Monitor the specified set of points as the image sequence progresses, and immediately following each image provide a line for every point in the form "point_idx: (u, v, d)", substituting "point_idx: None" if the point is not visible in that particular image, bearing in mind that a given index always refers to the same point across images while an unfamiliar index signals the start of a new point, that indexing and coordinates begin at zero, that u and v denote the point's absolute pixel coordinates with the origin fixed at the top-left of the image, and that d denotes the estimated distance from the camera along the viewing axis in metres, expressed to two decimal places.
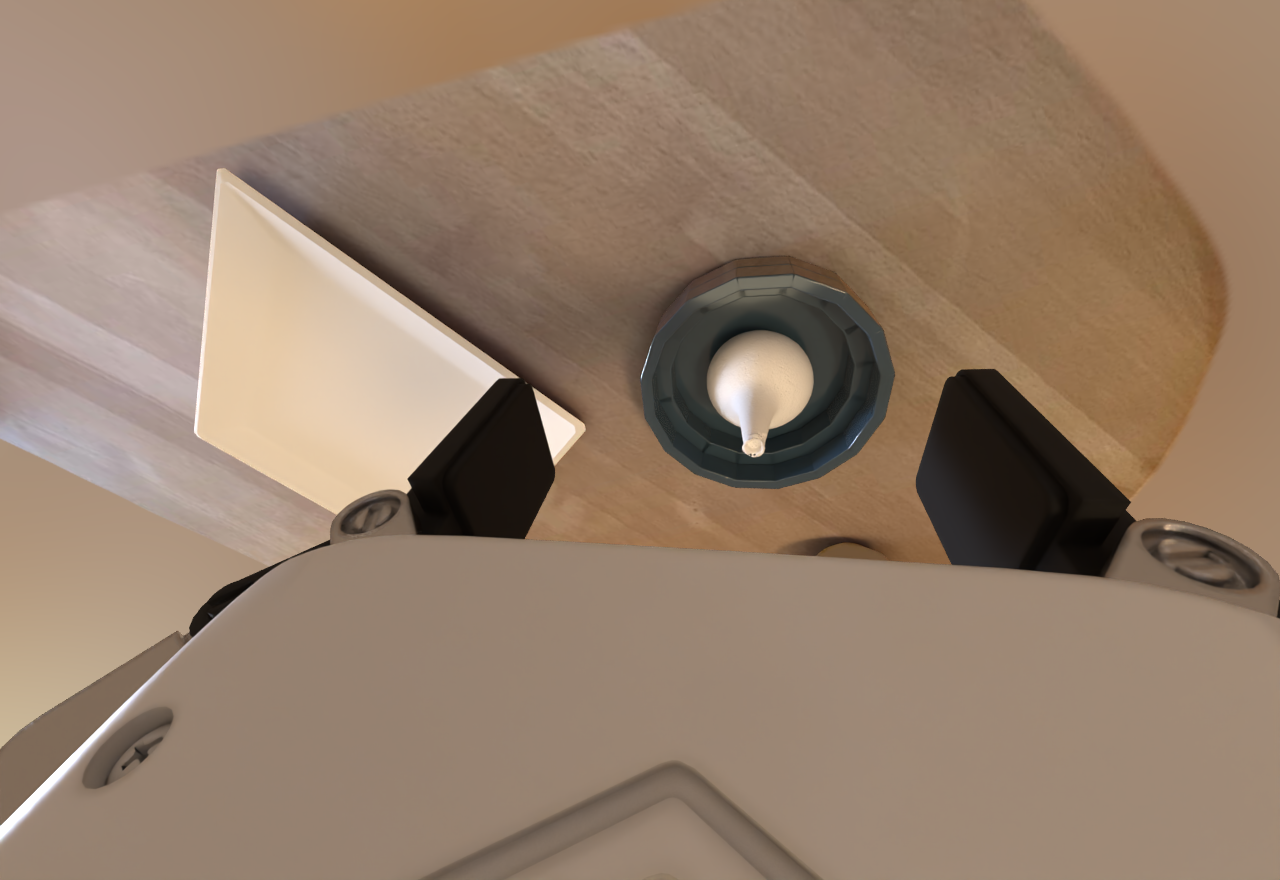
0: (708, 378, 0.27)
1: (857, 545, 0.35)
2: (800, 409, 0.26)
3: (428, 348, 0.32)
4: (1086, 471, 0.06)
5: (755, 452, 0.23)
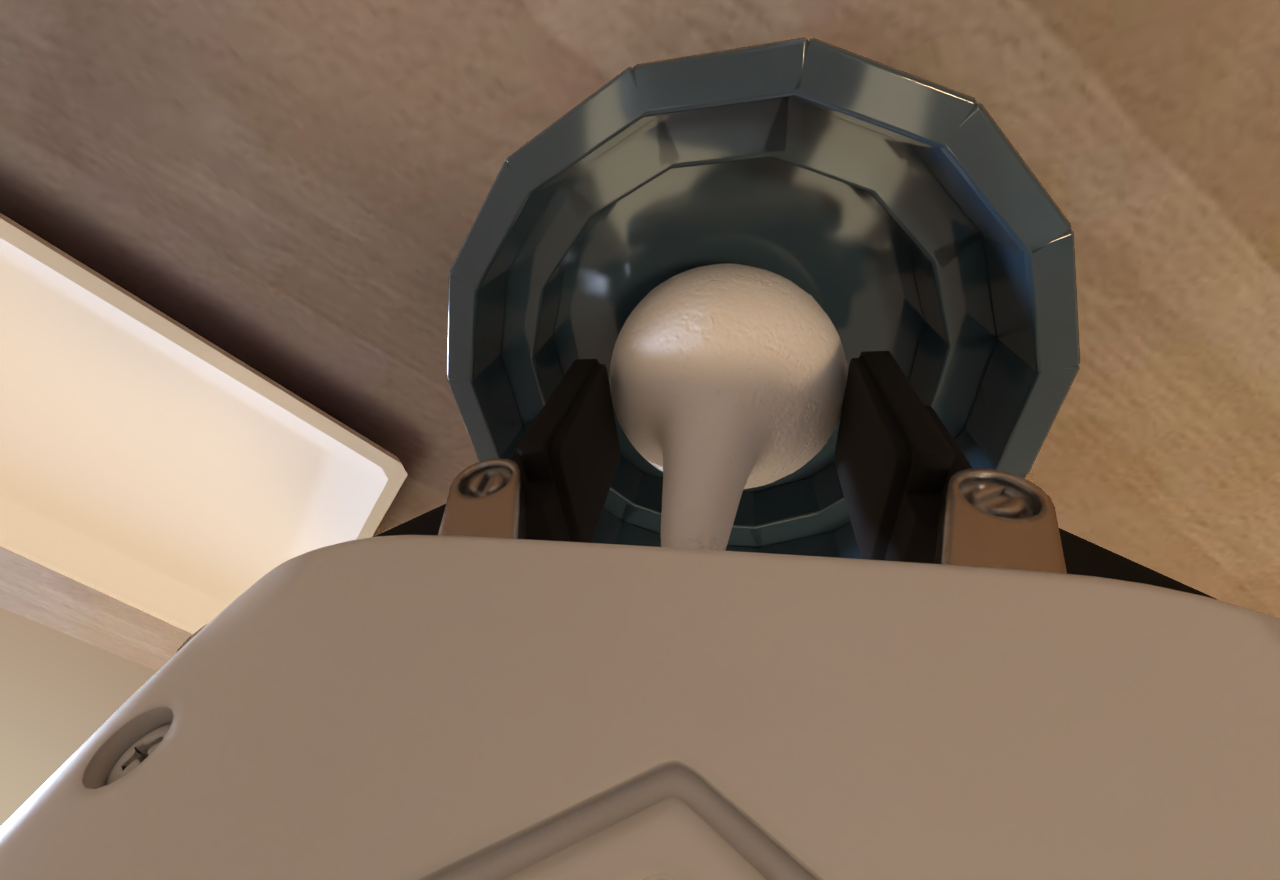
0: (610, 377, 0.12)
1: None
2: (816, 450, 0.11)
3: (103, 319, 0.17)
4: (930, 431, 0.07)
5: None
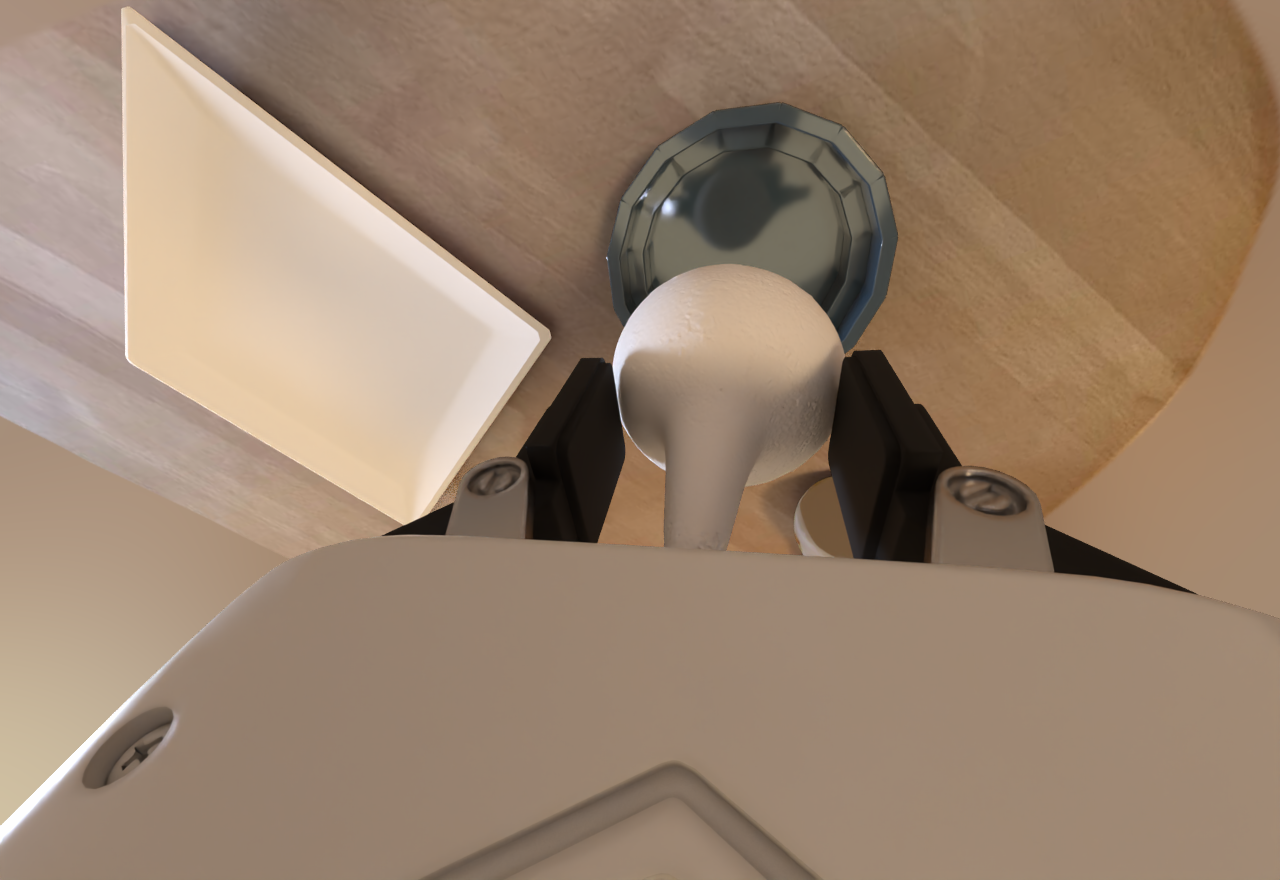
0: None
1: None
2: (816, 447, 0.12)
3: (375, 243, 0.28)
4: (919, 429, 0.07)
5: None
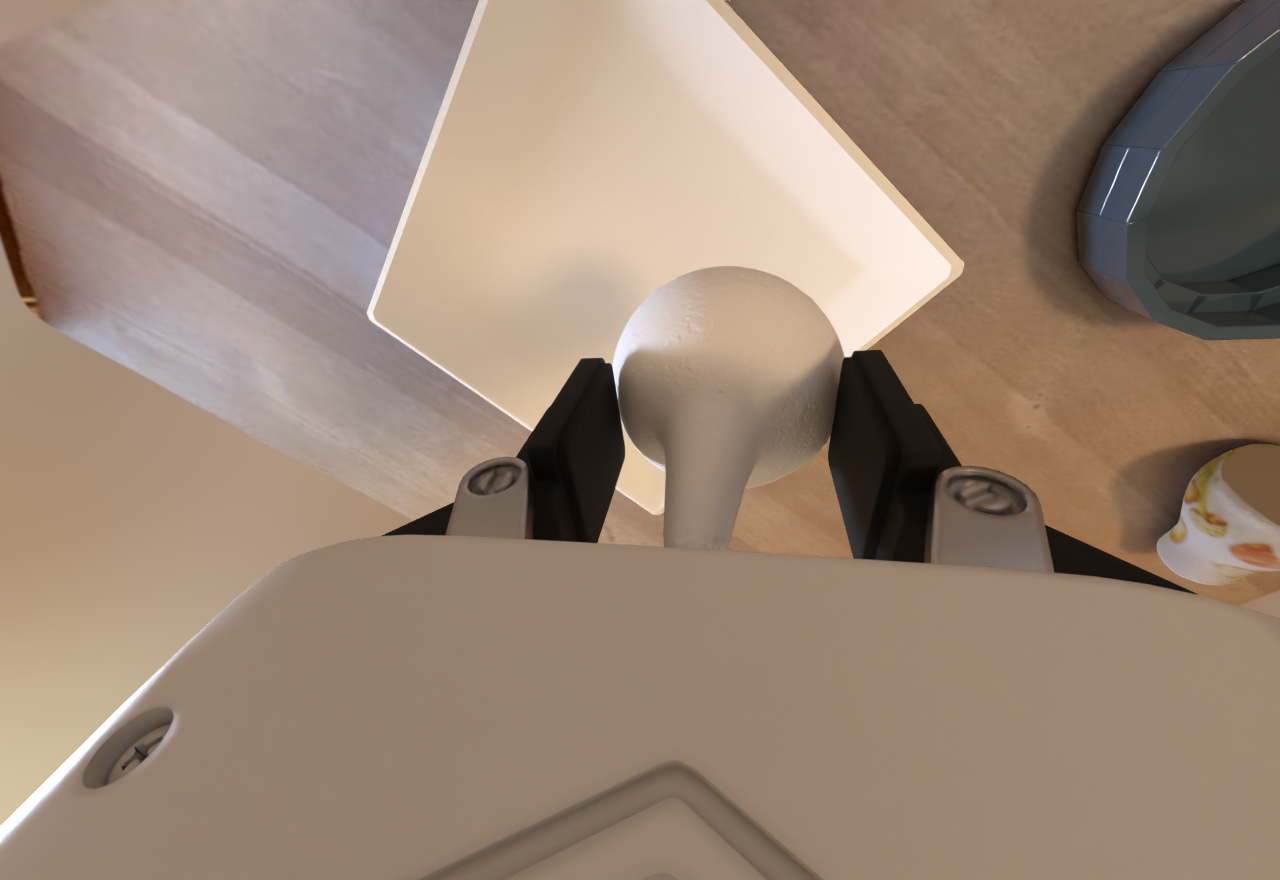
0: None
1: (1277, 446, 0.27)
2: (816, 449, 0.12)
3: (751, 157, 0.23)
4: (919, 429, 0.07)
5: None
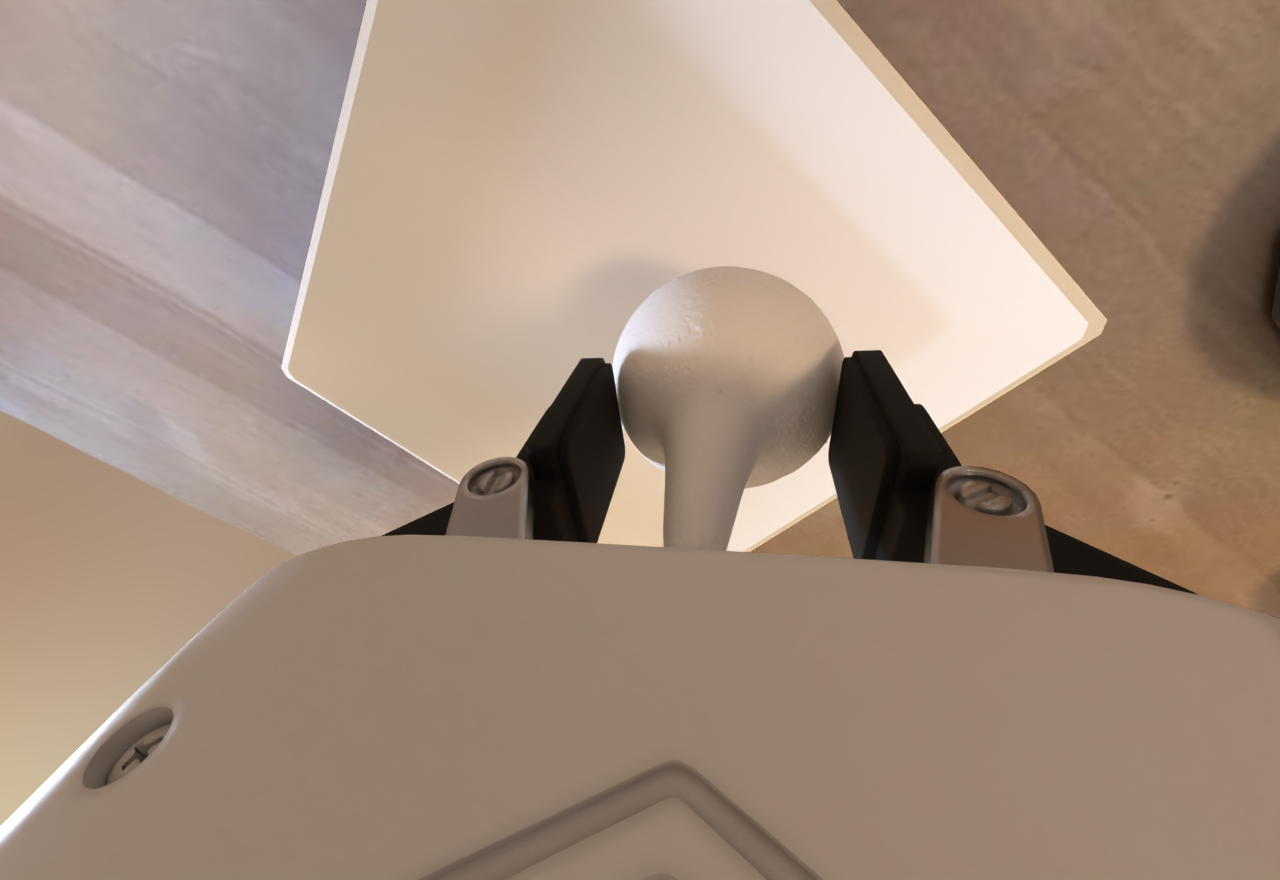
0: None
1: None
2: (816, 449, 0.12)
3: (795, 167, 0.16)
4: (918, 429, 0.07)
5: None
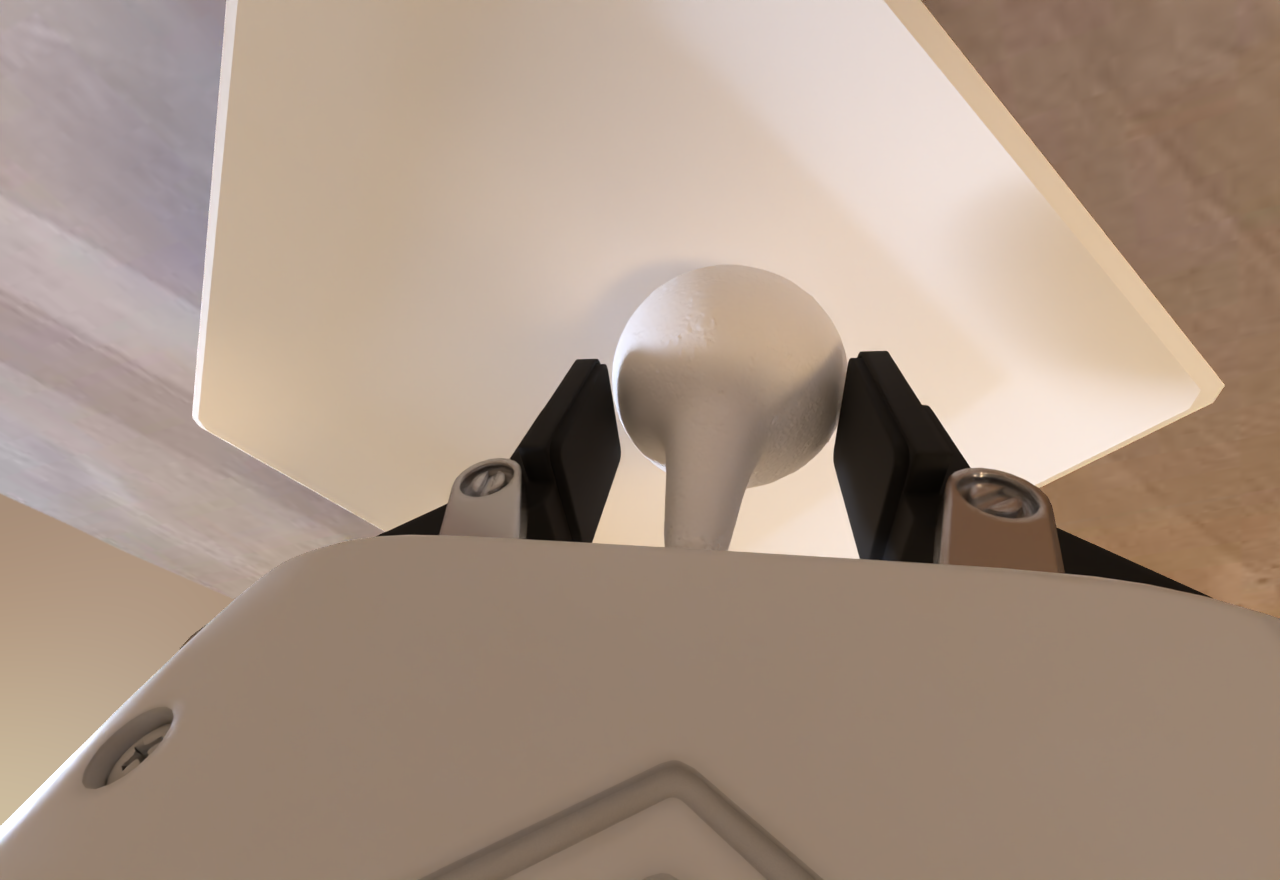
0: (612, 377, 0.12)
1: None
2: (818, 449, 0.11)
3: (814, 183, 0.12)
4: (927, 431, 0.07)
5: None
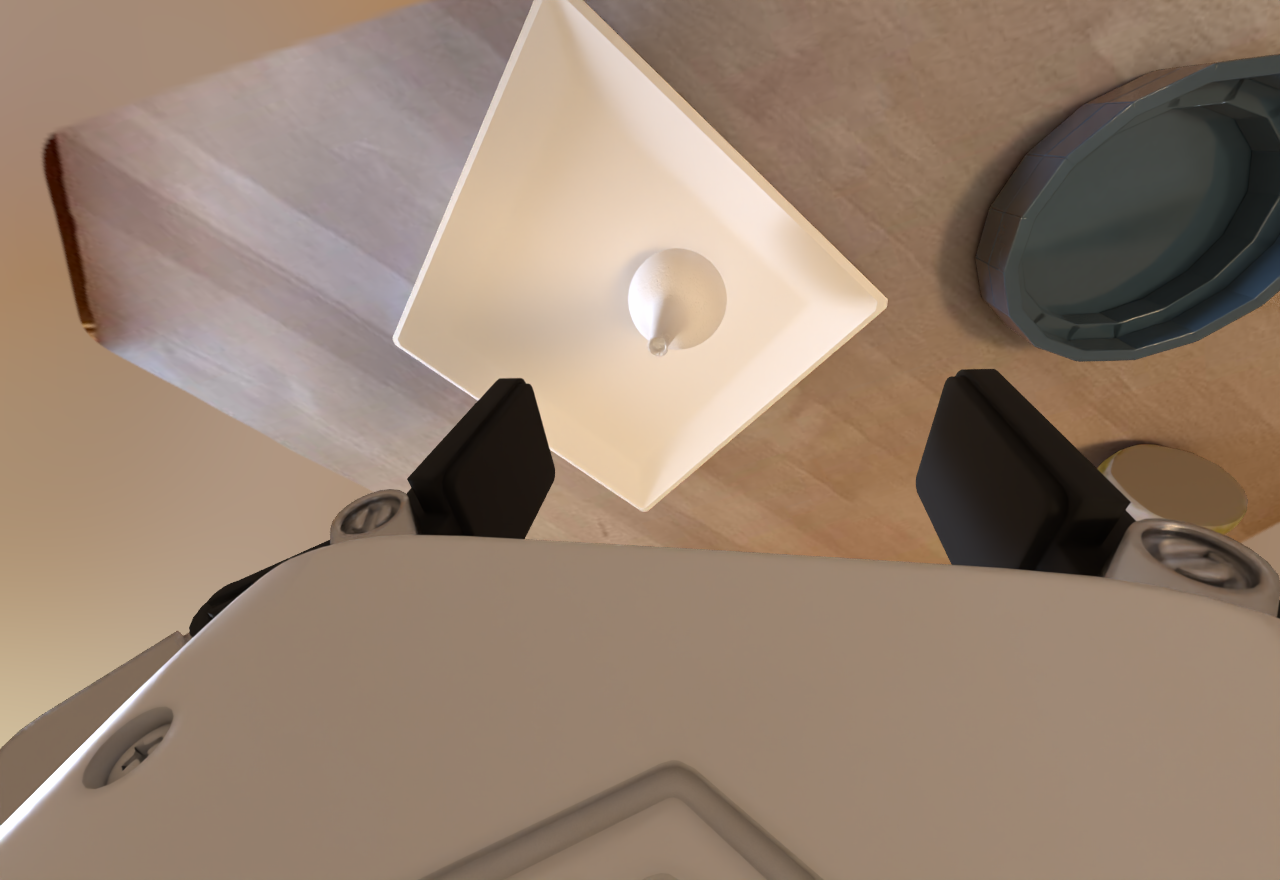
0: (628, 297, 0.29)
1: (1158, 446, 0.32)
2: (713, 324, 0.28)
3: (713, 215, 0.28)
4: (1086, 471, 0.06)
5: (660, 352, 0.24)
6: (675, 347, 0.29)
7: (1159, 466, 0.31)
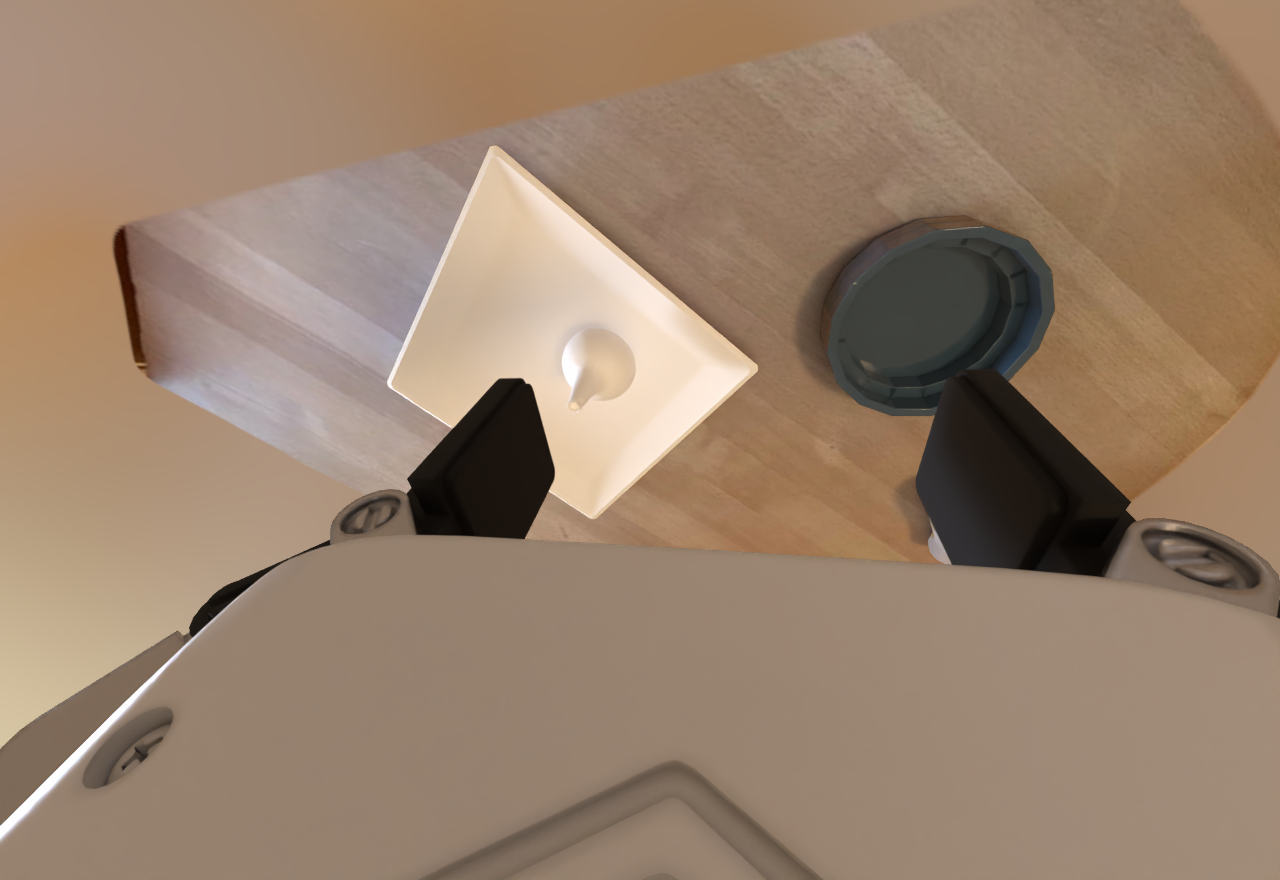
0: (562, 363, 0.38)
1: None
2: (624, 384, 0.37)
3: (626, 301, 0.38)
4: (1086, 471, 0.06)
5: (576, 411, 0.34)
6: (598, 400, 0.38)
7: None
